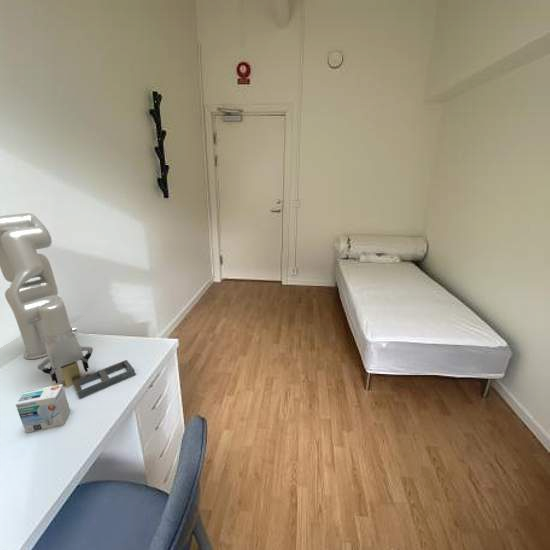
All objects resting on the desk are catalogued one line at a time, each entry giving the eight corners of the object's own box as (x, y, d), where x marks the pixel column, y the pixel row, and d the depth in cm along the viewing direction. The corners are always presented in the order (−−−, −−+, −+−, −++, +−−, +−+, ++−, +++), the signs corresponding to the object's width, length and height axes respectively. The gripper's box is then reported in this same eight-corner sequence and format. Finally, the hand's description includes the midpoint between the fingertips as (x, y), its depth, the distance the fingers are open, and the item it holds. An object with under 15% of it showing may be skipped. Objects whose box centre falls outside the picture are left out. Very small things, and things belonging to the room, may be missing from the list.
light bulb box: (25, 433, 97) (14, 404, 93) (34, 417, 103) (24, 390, 99) (64, 425, 99) (55, 397, 96) (71, 410, 105) (63, 383, 102)
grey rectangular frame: (74, 386, 117) (72, 381, 116) (127, 365, 129) (126, 359, 128) (79, 399, 110) (77, 393, 110) (135, 375, 122) (134, 369, 121)
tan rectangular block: (64, 381, 120) (58, 362, 118) (79, 375, 123) (74, 357, 121) (66, 387, 117) (61, 368, 114) (82, 381, 120) (77, 363, 117)
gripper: (84, 323, 122) (94, 362, 127) (29, 340, 111) (42, 381, 117) (89, 330, 116) (99, 370, 122) (31, 348, 106) (45, 391, 111)
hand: (71, 375), depth 119 cm, fingers open, 9 cm apart
